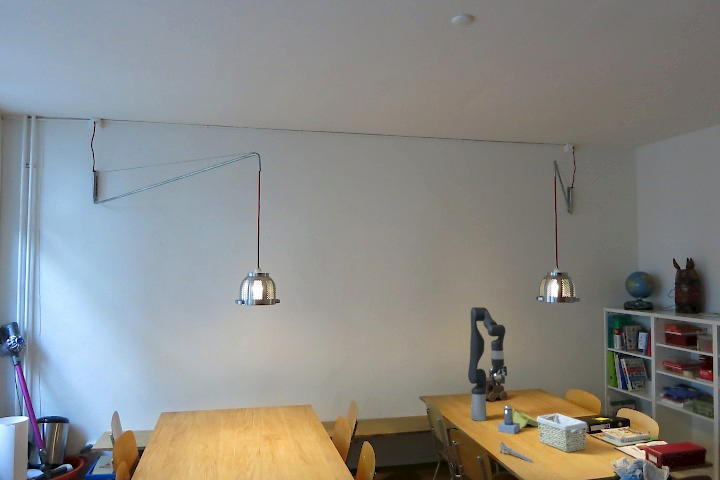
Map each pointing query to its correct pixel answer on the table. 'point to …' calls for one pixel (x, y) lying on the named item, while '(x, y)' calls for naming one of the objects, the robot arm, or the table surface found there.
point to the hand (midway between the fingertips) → (498, 384)
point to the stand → (509, 428)
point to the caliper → (509, 450)
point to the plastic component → (523, 419)
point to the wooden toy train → (495, 390)
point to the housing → (508, 415)
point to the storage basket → (562, 432)
